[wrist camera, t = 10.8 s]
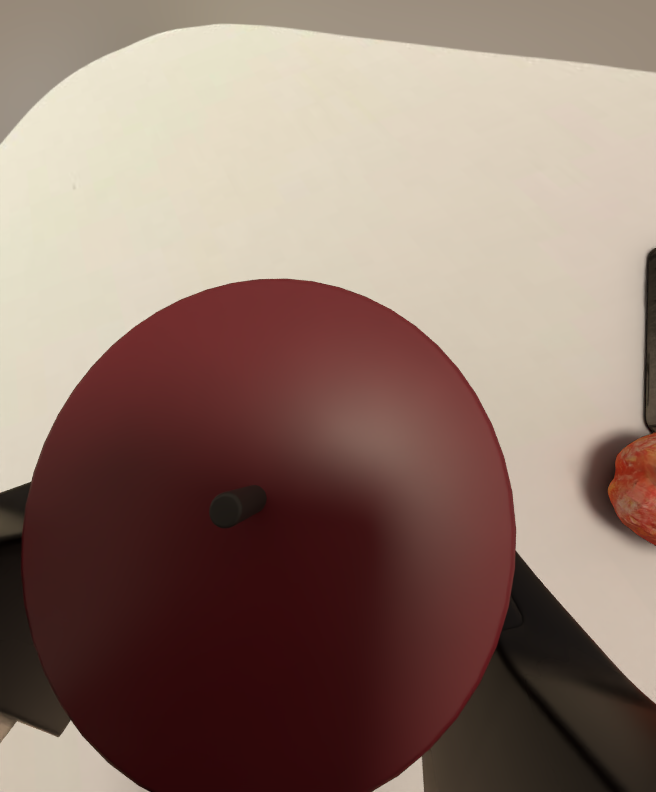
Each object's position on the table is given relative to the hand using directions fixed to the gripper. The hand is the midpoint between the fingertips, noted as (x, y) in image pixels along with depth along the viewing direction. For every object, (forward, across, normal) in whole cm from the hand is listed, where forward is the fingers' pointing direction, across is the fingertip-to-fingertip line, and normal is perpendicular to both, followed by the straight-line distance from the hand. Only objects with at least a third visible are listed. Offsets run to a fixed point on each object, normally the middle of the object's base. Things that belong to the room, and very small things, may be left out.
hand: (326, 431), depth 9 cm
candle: (+4, 0, +6) cm, 7 cm away
